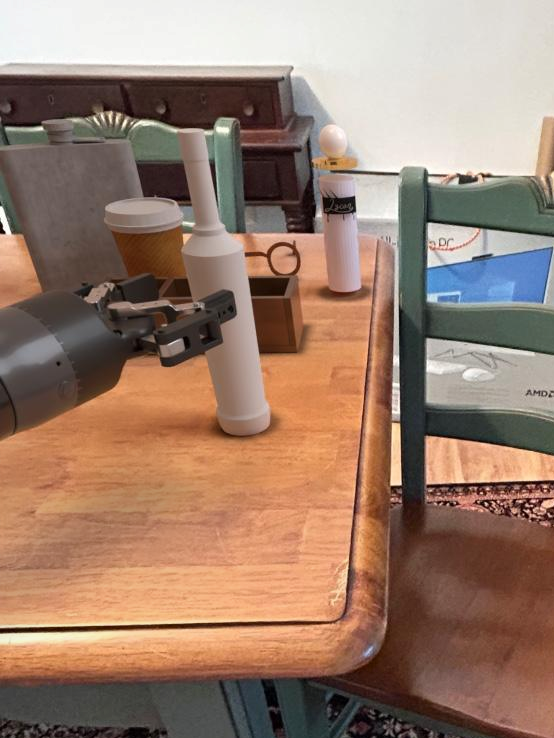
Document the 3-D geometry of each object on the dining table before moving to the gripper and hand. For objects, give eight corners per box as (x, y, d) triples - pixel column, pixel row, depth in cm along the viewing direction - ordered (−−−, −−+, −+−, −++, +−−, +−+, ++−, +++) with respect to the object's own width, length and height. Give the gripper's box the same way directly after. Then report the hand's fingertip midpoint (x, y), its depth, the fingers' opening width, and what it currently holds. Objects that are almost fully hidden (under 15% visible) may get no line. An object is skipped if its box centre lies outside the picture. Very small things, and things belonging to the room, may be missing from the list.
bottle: (209, 423, 73) (143, 129, 57) (254, 407, 76) (204, 122, 60) (236, 442, 71) (175, 138, 54) (282, 425, 73) (237, 131, 57)
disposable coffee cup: (204, 290, 103) (184, 195, 95) (198, 314, 96) (177, 213, 88) (133, 294, 102) (108, 197, 94) (122, 318, 95) (93, 216, 87)
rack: (102, 355, 86) (85, 300, 82) (121, 329, 92) (106, 277, 88) (297, 352, 87) (290, 298, 83) (303, 327, 93) (297, 275, 89)
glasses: (210, 285, 105) (202, 248, 102) (211, 258, 114) (205, 223, 111) (303, 279, 107) (298, 242, 104) (297, 253, 117) (292, 219, 113)
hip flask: (44, 299, 100) (-16, 126, 87) (43, 290, 103) (-15, 121, 90) (165, 285, 105) (125, 119, 92) (161, 276, 108) (122, 114, 94)
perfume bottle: (323, 286, 105) (306, 121, 92) (363, 284, 106) (352, 120, 93) (326, 300, 101) (309, 128, 87) (368, 297, 101) (357, 127, 88)
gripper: (89, 327, 46) (252, 258, 57) (-60, 291, 51) (117, 234, 62) (123, 435, 51) (267, 352, 62) (-16, 392, 56) (141, 323, 67)
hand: (192, 293), depth 62 cm, fingers open, 8 cm apart
